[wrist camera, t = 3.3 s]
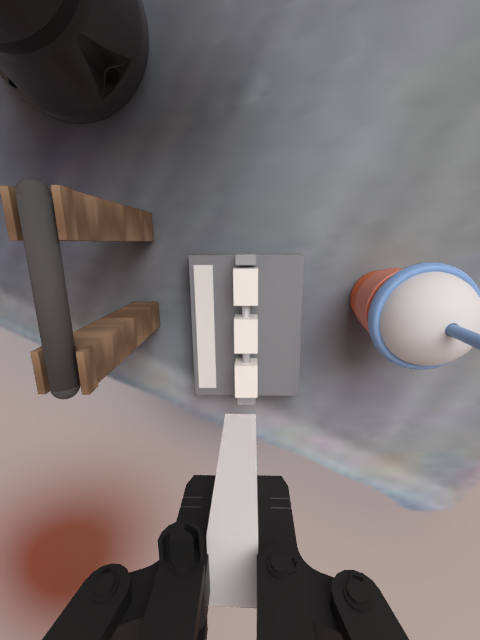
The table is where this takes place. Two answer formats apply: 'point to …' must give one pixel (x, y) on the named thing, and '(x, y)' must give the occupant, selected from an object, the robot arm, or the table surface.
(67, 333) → the dark grey rod
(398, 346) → the cup with straw
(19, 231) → the posts
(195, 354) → the breaker panel
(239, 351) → the breaker paddles
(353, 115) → the table surface
